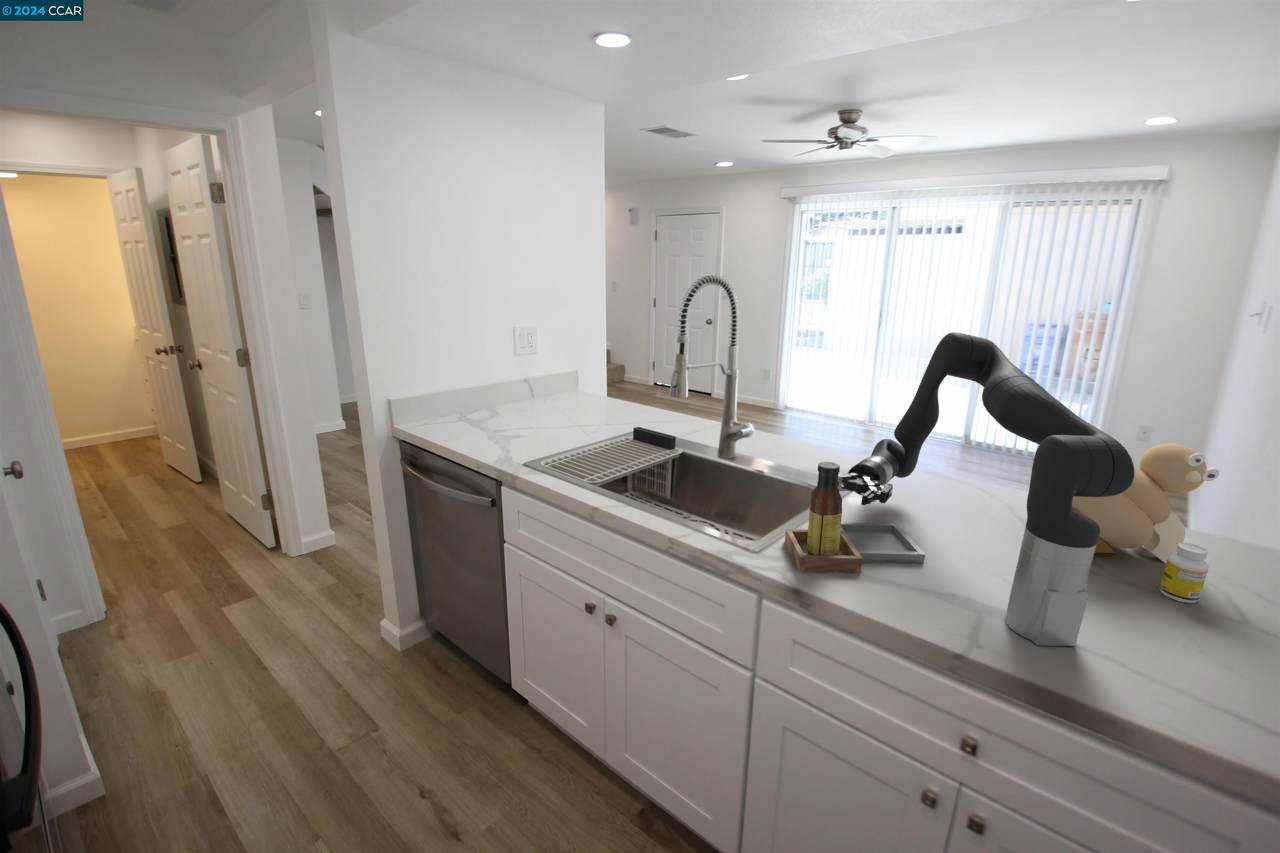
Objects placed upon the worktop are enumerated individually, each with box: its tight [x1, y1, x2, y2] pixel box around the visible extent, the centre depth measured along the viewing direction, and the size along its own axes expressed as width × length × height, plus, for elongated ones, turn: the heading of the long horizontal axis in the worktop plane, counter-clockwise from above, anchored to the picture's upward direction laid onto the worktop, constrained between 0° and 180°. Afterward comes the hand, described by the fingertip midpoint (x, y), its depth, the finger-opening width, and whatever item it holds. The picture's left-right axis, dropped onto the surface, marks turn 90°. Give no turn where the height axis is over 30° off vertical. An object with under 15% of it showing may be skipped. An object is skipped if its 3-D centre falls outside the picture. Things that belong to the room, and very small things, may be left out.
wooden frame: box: [784, 528, 864, 573], centre depth 117 cm, size 12×12×3 cm
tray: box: [841, 521, 926, 564], centre depth 122 cm, size 14×14×2 cm
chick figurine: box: [1072, 442, 1220, 564], centre depth 120 cm, size 30×28×23 cm
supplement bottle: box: [1159, 542, 1210, 604], centre depth 104 cm, size 5×5×10 cm
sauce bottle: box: [806, 461, 843, 556], centre depth 115 cm, size 7×6×20 cm
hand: (843, 495), depth 120 cm, fingers open, 8 cm apart
